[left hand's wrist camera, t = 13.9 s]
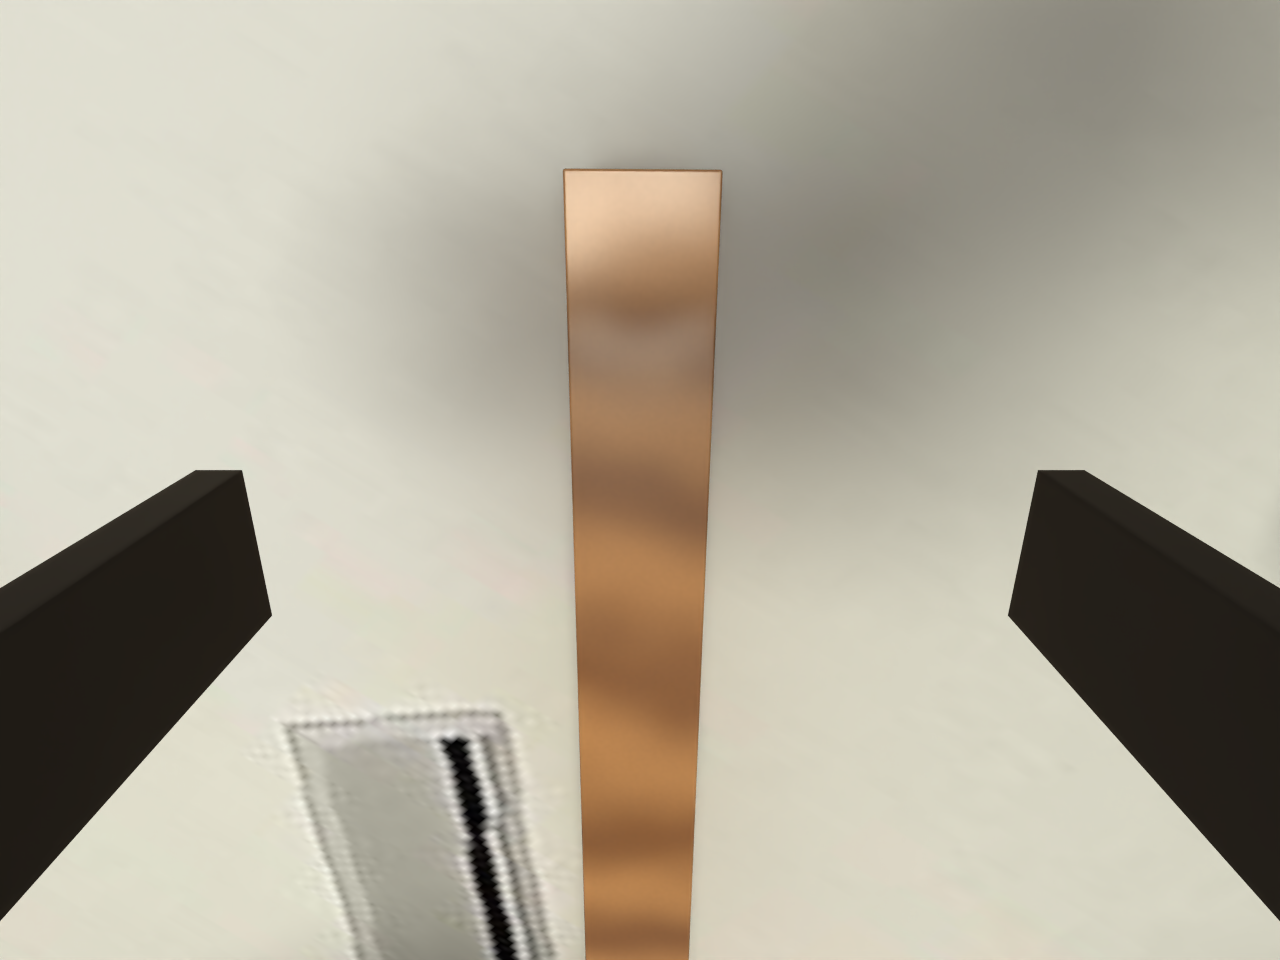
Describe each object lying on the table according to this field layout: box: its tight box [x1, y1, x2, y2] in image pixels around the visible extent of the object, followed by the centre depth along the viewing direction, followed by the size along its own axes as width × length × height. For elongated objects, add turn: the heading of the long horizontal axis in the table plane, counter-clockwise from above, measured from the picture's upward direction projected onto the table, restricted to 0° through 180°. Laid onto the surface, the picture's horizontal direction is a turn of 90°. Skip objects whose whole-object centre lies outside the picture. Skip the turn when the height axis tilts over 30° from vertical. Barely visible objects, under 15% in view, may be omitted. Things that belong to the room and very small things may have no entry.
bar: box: [563, 169, 722, 960], centre depth 36 cm, size 60×5×9 cm, turn 0°
